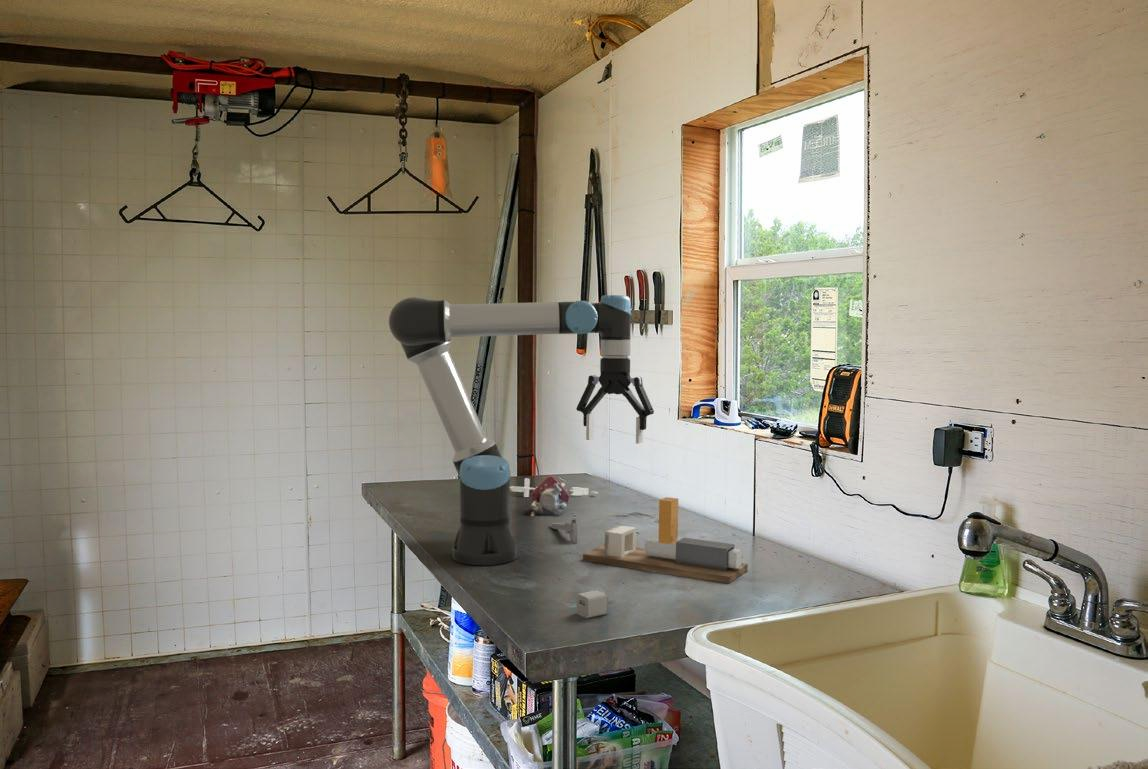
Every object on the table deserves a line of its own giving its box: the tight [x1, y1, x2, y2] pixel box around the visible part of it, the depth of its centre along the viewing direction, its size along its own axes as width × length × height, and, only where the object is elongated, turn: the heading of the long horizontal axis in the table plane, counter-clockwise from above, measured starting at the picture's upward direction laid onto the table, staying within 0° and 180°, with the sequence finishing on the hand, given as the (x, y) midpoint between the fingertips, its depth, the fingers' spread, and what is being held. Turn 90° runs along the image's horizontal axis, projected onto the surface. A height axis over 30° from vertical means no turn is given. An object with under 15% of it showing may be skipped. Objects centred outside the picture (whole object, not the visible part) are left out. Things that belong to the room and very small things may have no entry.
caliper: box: [549, 518, 578, 544], centre depth 236 cm, size 20×1×6 cm, turn 19°
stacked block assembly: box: [644, 496, 743, 568], centre depth 202 cm, size 4×22×13 cm, turn 60°
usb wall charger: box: [575, 589, 616, 619], centre depth 172 cm, size 4×7×4 cm, turn 125°
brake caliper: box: [530, 475, 570, 517], centre depth 262 cm, size 11×11×12 cm
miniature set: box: [510, 477, 599, 498], centre depth 292 cm, size 6×35×12 cm
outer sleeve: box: [676, 537, 735, 571], centre depth 201 cm, size 5×12×5 cm, turn 60°
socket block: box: [604, 525, 637, 557], centre depth 212 cm, size 8×4×6 cm, turn 150°
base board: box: [582, 543, 749, 584], centre depth 206 cm, size 12×36×2 cm, turn 60°
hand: (614, 441), depth 226 cm, fingers open, 13 cm apart
